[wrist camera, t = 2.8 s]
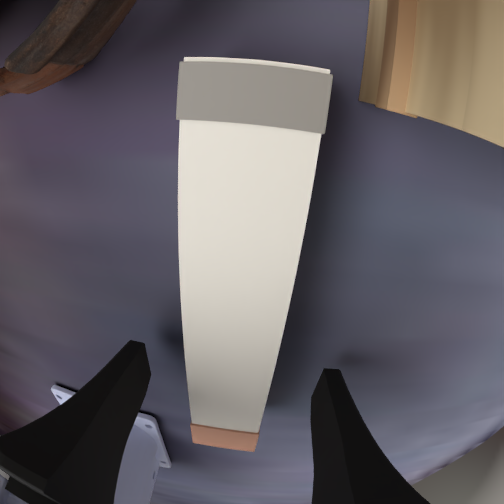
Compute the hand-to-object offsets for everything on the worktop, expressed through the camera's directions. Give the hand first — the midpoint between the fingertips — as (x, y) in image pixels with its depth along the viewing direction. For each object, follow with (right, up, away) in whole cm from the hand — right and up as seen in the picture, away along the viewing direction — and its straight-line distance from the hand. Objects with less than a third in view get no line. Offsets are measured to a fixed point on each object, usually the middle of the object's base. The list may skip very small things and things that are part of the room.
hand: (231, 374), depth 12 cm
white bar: (0, +3, 0) cm, 3 cm away
